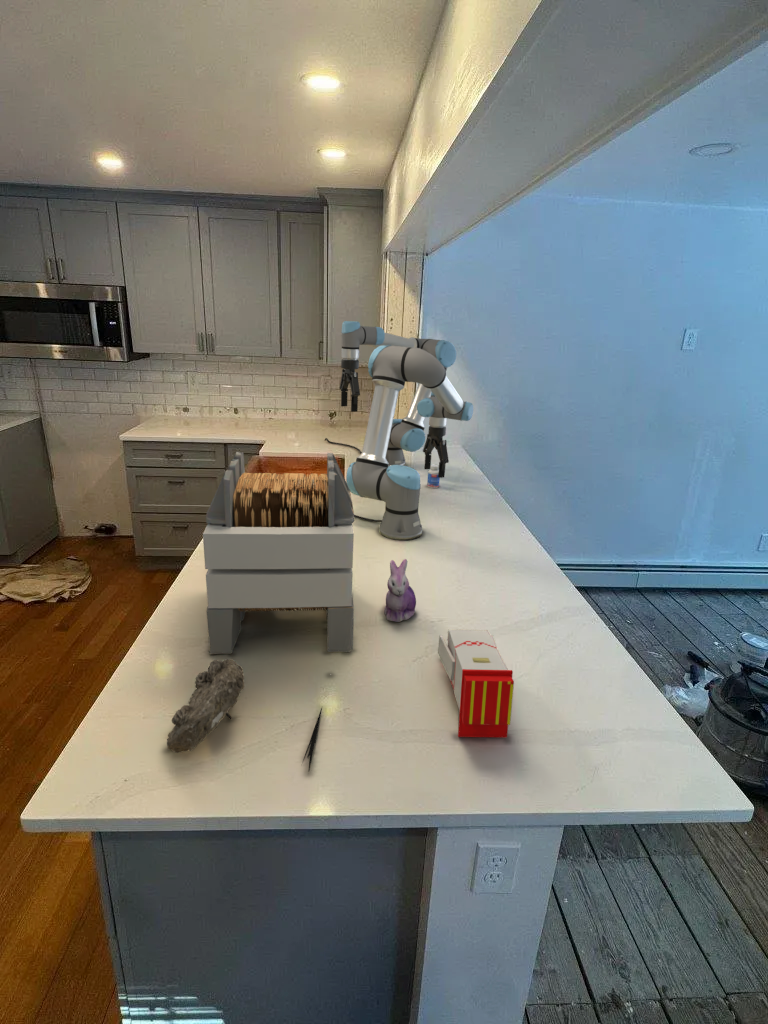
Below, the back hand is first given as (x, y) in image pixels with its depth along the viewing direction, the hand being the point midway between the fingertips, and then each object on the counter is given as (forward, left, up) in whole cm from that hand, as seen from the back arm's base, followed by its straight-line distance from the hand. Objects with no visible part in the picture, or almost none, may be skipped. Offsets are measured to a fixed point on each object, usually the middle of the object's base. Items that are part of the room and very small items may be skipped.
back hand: (349, 408), depth 250 cm
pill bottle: (+24, +32, -32) cm, 51 cm away
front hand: (+24, +32, -26) cm, 47 cm away
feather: (+144, -72, -32) cm, 165 cm away
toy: (+150, -41, -32) cm, 159 cm away
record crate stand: (+106, -66, -32) cm, 128 cm away
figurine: (+116, -38, -32) cm, 127 cm away
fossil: (+135, -90, -32) cm, 166 cm away
